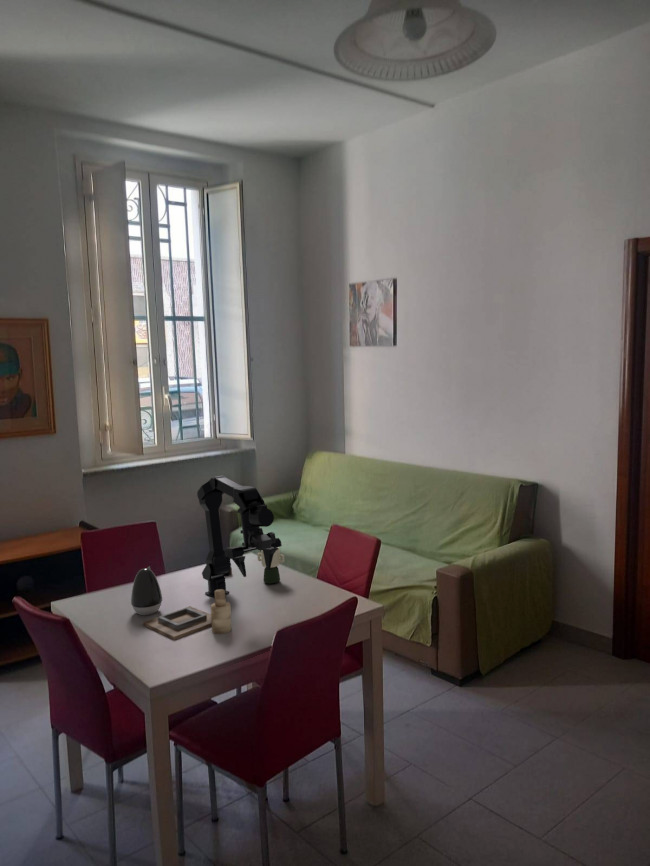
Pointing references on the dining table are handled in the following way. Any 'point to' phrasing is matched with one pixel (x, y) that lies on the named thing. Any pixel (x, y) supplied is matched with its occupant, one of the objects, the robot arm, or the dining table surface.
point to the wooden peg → (220, 613)
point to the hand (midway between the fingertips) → (256, 573)
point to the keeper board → (180, 622)
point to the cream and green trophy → (272, 567)
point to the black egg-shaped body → (146, 593)
